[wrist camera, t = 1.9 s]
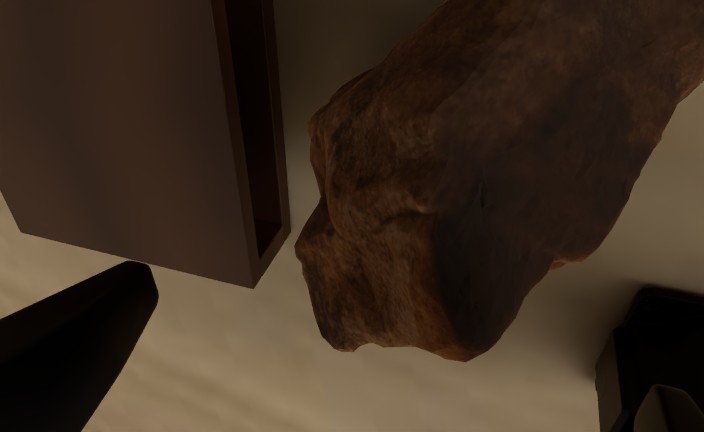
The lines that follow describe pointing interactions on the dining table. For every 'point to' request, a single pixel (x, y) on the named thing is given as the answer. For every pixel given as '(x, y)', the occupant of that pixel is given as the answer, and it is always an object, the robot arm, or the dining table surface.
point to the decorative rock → (485, 162)
